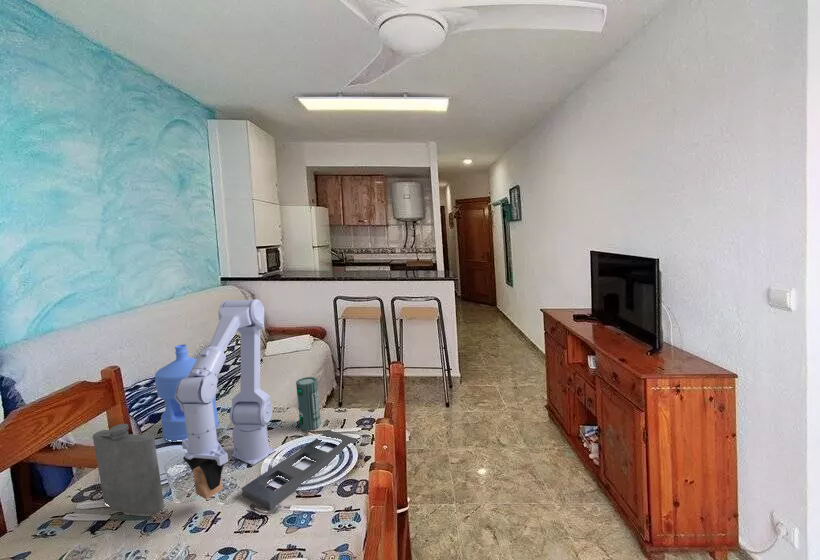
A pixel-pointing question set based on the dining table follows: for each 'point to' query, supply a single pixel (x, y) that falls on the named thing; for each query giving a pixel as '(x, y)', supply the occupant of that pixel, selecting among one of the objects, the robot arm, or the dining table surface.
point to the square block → (204, 484)
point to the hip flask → (128, 470)
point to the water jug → (166, 390)
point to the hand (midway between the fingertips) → (208, 484)
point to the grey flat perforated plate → (293, 472)
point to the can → (308, 403)
